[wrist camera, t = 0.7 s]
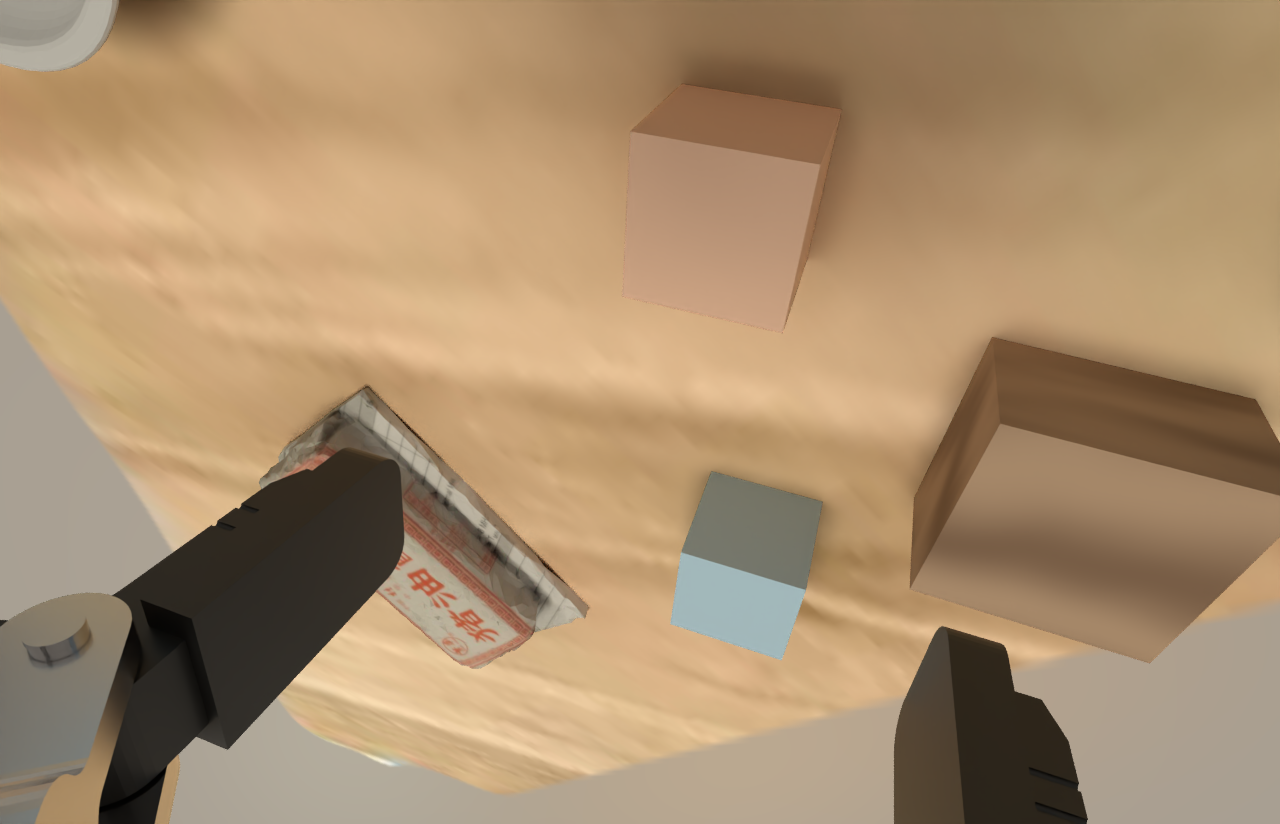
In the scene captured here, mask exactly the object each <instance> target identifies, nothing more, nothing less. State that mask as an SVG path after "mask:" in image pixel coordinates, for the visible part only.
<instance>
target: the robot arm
mask: <svg viewBox="0 0 1280 824" xmlns="http://www.w3.org/2000/svg"><path fill="white" fill-rule="evenodd" d="M403 547H404V520H403V504H402V488H401V473H400V468H399V465H398V464H397V462H396V461H394V460H392V459H389V458H386V457H382V456H379V455H376V454H372V453H369V452H366V451H362V450H359V449H355V448H352V447H347V448H343V449H341V450H339V451H338V452H336V453H335V454H334V455H332V456H331V457H330V458H328V459H327V460H326V461H324V462H323V463H322V464H320V465H319V466H318V467H316V468H315V469H314V470H309V469H305V470H302V471H300V472H297V473H295V474H292V475H289V476H287V477H284V478H282V479H279V480H277V481H274V482H272V483H270V484H268V485H267V486H265V487H264V488H263V489H261V490H260V491H258V492H257V493H256V494H254V495H253V496H251V497H250V498H249V499H247V500H246V501H244V502H243V503H242V504H241V507H240V508H239V509H238V508H235V509H233V510H232V511H231V512H229V513H228V514H226V515H225V516H224V517H222V518H221V519H219V520H218V521H217V525H216V526H212V525H211V526H210V527H208V528H207V529H205V530H204V531H203V532H201V533H200V534H198V535H197V536H196V537H194V538H193V539H191V540H190V541H189V542H187V543H186V544H184V545H183V546H182V547H180V548H179V549H177V550H176V551H175V552H173V553H172V554H170V555H169V556H168V557H166V558H165V559H163V560H162V561H161V562H159V563H158V564H156V565H155V566H154V567H152V568H151V569H149V570H148V571H147V572H146V573H144V574H142V575H141V576H140V577H138V578H137V579H135V580H134V581H133V582H131V583H130V584H128V585H127V586H126V587H124V588H123V589H121V590H120V591H118V592H117V593H115V594H114V595H112V596H111V595H108V594H102V593H80V594H72V595H67V596H62V597H59V598H55V599H51V600H49V601H46V602H43V603H40V604H38V605H35V606H33V607H31V608H29V609H27V610H25V611H23V612H21V613H19V614H18V615H16V616H14V617H13V618H11V619H10V620H0V824H169V821H170V815H171V811H172V806H173V800H174V796H175V791H176V786H177V781H178V776H179V770H180V760H179V755H178V754H179V753H180V752H181V751H182V750H183V749H184V748H185V747H186V746H187V745H188V744H189V743H190V742H191V741H192V740H193V739H194V738H195V737H198V738H201V739H203V740H206V741H208V742H210V743H213V744H215V745H217V746H220V747H222V748H225V749H229V748H230V747H231V746H232V745H233V744H234V742H235V741H236V740H237V739H238V738H239V737H240V736H241V735H242V734H243V733H244V732H245V731H246V730H247V729H248V727H249V726H250V725H251V724H252V723H253V722H254V721H255V720H256V719H257V718H258V717H259V716H260V715H261V714H262V713H263V711H264V710H265V709H266V708H267V707H268V706H269V705H270V704H271V703H272V702H273V700H275V699H276V698H277V696H278V695H279V694H280V693H281V692H282V691H283V690H284V689H285V688H286V687H287V686H288V685H289V684H290V683H291V681H292V680H293V679H294V678H295V677H296V676H297V675H298V674H299V673H300V672H301V671H302V670H303V669H304V668H305V667H306V665H307V664H308V663H309V662H310V661H311V660H312V659H313V658H314V657H315V656H316V655H317V654H318V653H319V652H320V650H321V649H322V648H323V647H324V646H325V645H326V644H327V643H328V642H329V641H330V640H331V639H332V638H333V637H334V636H335V634H336V633H337V632H338V631H339V630H340V629H341V628H342V627H343V626H344V625H345V624H346V623H347V622H348V621H349V619H350V618H351V617H352V616H353V615H354V614H355V613H356V612H357V611H358V610H359V609H360V608H361V607H362V606H363V604H364V603H365V602H366V601H367V600H368V599H369V598H370V597H371V596H372V595H373V594H374V593H375V592H376V591H377V590H378V588H379V587H380V586H381V585H382V584H383V583H384V582H385V581H386V580H387V579H388V578H389V576H390V575H391V574H392V572H393V571H394V569H395V568H396V566H397V564H398V562H399V560H400V557H401V554H402V551H403ZM1078 784H1079V782H1078V778H1077V774H1076V770H1075V766H1074V762H1073V758H1072V754H1071V749H1070V745H1069V742H1068V740H1067V738H1066V737H1065V735H1064V733H1063V732H1062V731H1061V729H1060V727H1059V726H1058V724H1057V723H1056V721H1055V720H1054V718H1053V717H1052V715H1051V714H1050V712H1049V711H1048V709H1047V707H1046V706H1045V704H1044V703H1043V701H1042V700H1041V699H1038V698H1034V697H1031V696H1028V695H1025V694H1022V693H1018V692H1015V691H1014V685H1013V680H1012V675H1011V669H1010V664H1009V658H1008V654H1007V650H1006V648H1005V647H1004V645H1002V644H1000V643H997V642H994V641H990V640H987V639H984V638H980V637H977V636H974V635H970V634H967V633H964V632H960V631H957V630H954V629H950V628H947V627H944V626H941V627H940V628H939V629H938V630H937V631H936V633H935V635H934V637H933V639H932V641H931V643H930V645H929V647H928V650H927V652H926V654H925V656H924V658H923V661H922V663H921V665H920V667H919V669H918V671H917V674H916V676H915V678H914V680H913V682H912V685H911V687H910V689H909V691H908V693H907V696H906V698H905V700H904V702H903V705H902V708H901V712H900V715H899V719H898V724H897V728H896V735H895V744H894V824H1087V820H1088V818H1087V814H1086V810H1085V806H1084V802H1083V798H1082V794H1081V792H1079V791H1078Z"/></svg>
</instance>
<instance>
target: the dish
mask: <svg viewBox="0 0 1280 824" xmlns="http://www.w3.org/2000/svg"><path fill="white" fill-rule="evenodd" d="M118 6H119V0H0V64H3V65H6V66H10V67H15V68H19V69H24V70H32V71H44V72H47V71H61V70H65V69H69V68H73V67H76V66H77V65H79V64H81V63H83V62H85V61H87V60H88V59H89V58H91V57H92V56H93V55H94V54H95V53H96V52H97V51H99V50H100V48H101V47H102V45H103V44H104V43H105V41H106V40H107V38H108V36H109V34H110V32H111V30H112V27H113V25H114V23H115V18H116V14H117V10H118Z"/></svg>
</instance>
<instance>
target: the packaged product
mask: <svg viewBox="0 0 1280 824" xmlns="http://www.w3.org/2000/svg"><path fill="white" fill-rule="evenodd" d="M347 447H352V448H355V449H359V450H362V451H366V452H369V453H372V454H376V455H379V456H382V457H386V458H389V459H392V460H394V461H396V462H397V464H398V465H399V468H400V473H401V488H402V504H403V520H404V547H403V551H402V554H401V557H400V560H399V562H398V564H397V566H396V568H395V569H394V571H393V572H392V574H391V575H390V576H389V578H388V579H387V580H386V581H385V582H384V583H383V584H382V585H381V586H380V587H379V588H378V590H377V591H376V592H377V593H378V594H379V595H381V596H382V597H383V598H384V599H385V600H387V601H388V602H389V603H390V604H391V605H392V606H393V607H394V608H395V609H396V610H398V611H399V612H400V613H401V614H402V615H403V616H405V617H406V618H407V619H408V620H409V621H410V622H411V623H412V624H413V625H415V626H416V627H417V628H419V629H420V630H421V631H422V632H423V633H424V634H425V635H426V636H427V637H428V638H429V639H431V640H432V641H433V642H435V643H436V644H437V645H438V646H439V647H440V648H441V649H442V650H443V651H444V652H445V653H447V654H448V655H449V656H450V657H451V658H452V659H453V660H455V661H456V662H458V663H459V664H461V665H464V666H469V667H470V668H473V669H478V668H482V667H484V666H486V665H488V664H489V663H490V662H491V661H493V660H494V659H496V658H498V657H501V656H503V655H504V654H505V653H507V652H510V651H511V650H513V651H514V650H516V649H517V648H518V647H520V646H521V645H522V644H523V643H524V642H526V641H527V640H529V639H530V638H531V636H532V635H533V633H534V632H537V631H541V630H544V629H549V628H552V627H556V626H560V625H563V624H567V623H571V622H572V621H573V620H575V619H576V618H584V619H585V617H586V614H587V610H588V606H587V605H586V604H585V603H584V602H583V601H582V600H581V599H580V598H579V597H578V595H577V594H576V593H575V592H574V591H573V590H572V589H571V588H570V587H569V586H567V585H566V584H565V583H564V582H563V581H561V580H560V579H559V578H558V577H556V576H555V575H554V574H553V573H552V572H550V571H549V570H548V569H547V568H546V567H544V565H543V564H542V563H541V561H540V560H539V558H538V557H537V556H536V554H535V553H534V552H532V551H531V550H530V548H529V547H528V546H527V545H526V544H525V543H524V542H523V541H522V540H521V539H520V538H519V537H518V536H517V535H516V534H515V533H514V532H513V531H512V530H511V529H510V528H509V527H508V526H507V525H506V524H505V523H504V522H503V521H502V520H501V519H500V517H499V516H498V515H497V514H496V513H495V512H493V511H492V510H491V509H490V508H489V506H488V505H487V504H486V503H485V502H484V501H483V500H482V499H481V498H480V497H479V495H478V494H477V493H476V492H475V491H474V490H473V489H472V488H471V487H470V486H469V485H468V484H467V483H466V482H464V481H463V479H462V478H461V477H460V476H459V475H458V474H457V473H455V472H454V471H453V470H452V469H451V468H450V467H449V466H447V465H446V464H445V463H444V462H443V461H442V460H441V459H440V458H438V456H437V455H436V454H435V453H434V452H433V451H432V450H431V449H430V448H429V447H428V446H427V445H425V444H424V443H423V442H422V441H421V440H420V439H419V438H418V437H417V436H416V435H414V434H413V433H412V432H411V431H410V430H409V429H408V428H407V427H406V426H405V425H404V424H403V423H402V422H401V421H400V419H399V418H398V417H397V416H396V415H395V414H394V413H393V412H392V411H391V410H390V409H389V407H388V406H387V405H386V404H385V403H384V402H383V401H382V400H381V399H380V398H378V397H377V396H376V395H375V394H374V393H373V392H372V391H371V390H370V389H369V388H365V389H363V390H361V391H360V392H358V393H357V394H355V395H354V396H352V397H351V398H350V399H348V400H347V401H345V402H344V403H342V404H341V405H339V406H338V407H336V408H335V409H333V410H332V411H331V412H329V413H328V414H327V415H326V416H325V417H323V418H322V419H321V420H320V421H319V422H317V423H316V424H315V425H314V426H313V427H312V428H310V429H309V430H308V431H307V432H306V433H304V434H303V435H301V436H300V437H298V438H297V439H295V440H294V441H292V442H291V443H289V444H288V445H286V446H285V447H284V448H283V450H282V452H281V453H280V455H279V463H277V464H276V465H275V466H273V467H271V468H270V470H269V471H268V473H267V474H266V475H264V476H263V477H262V478H261V479H260V481H259V484H260V486H261V489H263V488H264V487H265V486H267V485H268V484H270V483H272V482H274V481H277V480H279V479H282V478H284V477H287V476H289V475H292V474H295V473H297V472H300V471H302V470H305V469H309V470H314V469H315V468H316V467H318V466H319V465H320V464H322V463H323V462H324V461H326V460H327V459H328V458H330V457H331V456H332V455H334V454H335V453H336V452H338V451H339V450H341V449H343V448H347Z"/></svg>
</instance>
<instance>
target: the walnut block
mask: <svg viewBox="0 0 1280 824" xmlns="http://www.w3.org/2000/svg"><path fill="white" fill-rule="evenodd" d="M1279 537H1280V443H1279V441H1278V439H1277V437H1276V435H1275V434H1274V432H1273V430H1272V428H1271V426H1270V425H1269V423H1268V421H1267V419H1266V417H1265V415H1264V414H1263V412H1262V410H1261V408H1260V406H1259V404H1258V403H1257V401H1256V400H1255V399H1251V398H1247V397H1243V396H1238V395H1234V394H1230V393H1226V392H1222V391H1217V390H1213V389H1209V388H1205V387H1200V386H1196V385H1192V384H1188V383H1183V382H1179V381H1175V380H1171V379H1167V378H1162V377H1158V376H1154V375H1150V374H1145V373H1141V372H1137V371H1133V370H1128V369H1124V368H1120V367H1116V366H1112V365H1107V364H1103V363H1099V362H1095V361H1090V360H1086V359H1082V358H1078V357H1073V356H1069V355H1065V354H1061V353H1057V352H1052V351H1048V350H1044V349H1040V348H1035V347H1031V346H1027V345H1023V344H1018V343H1014V342H1010V341H1006V340H1002V339H997V338H993V337H992V339H991V341H990V343H989V345H988V347H987V349H986V351H985V354H984V356H983V358H982V360H981V362H980V364H979V366H978V368H977V370H976V372H975V374H974V376H973V378H972V380H971V382H970V384H969V386H968V388H967V391H966V393H965V395H964V397H963V399H962V401H961V403H960V405H959V407H958V409H957V411H956V413H955V415H954V417H953V419H952V421H951V423H950V425H949V427H948V430H947V432H946V434H945V436H944V438H943V440H942V442H941V444H940V446H939V448H938V450H937V452H936V454H935V456H934V458H933V460H932V462H931V464H930V467H929V469H928V471H927V473H926V475H925V477H924V479H923V481H922V483H921V485H920V487H919V489H918V491H917V493H916V495H915V497H914V511H913V531H912V552H911V572H910V590H913V591H917V592H920V593H923V594H926V595H930V596H933V597H936V598H939V599H943V600H946V601H949V602H952V603H956V604H959V605H962V606H965V607H969V608H972V609H975V610H978V611H982V612H985V613H988V614H991V615H995V616H998V617H1001V618H1004V619H1008V620H1011V621H1014V622H1017V623H1021V624H1024V625H1027V626H1030V627H1033V628H1037V629H1040V630H1043V631H1046V632H1050V633H1053V634H1056V635H1059V636H1063V637H1066V638H1069V639H1072V640H1076V641H1079V642H1082V643H1085V644H1089V645H1092V646H1095V647H1098V648H1102V649H1105V650H1108V651H1111V652H1115V653H1118V654H1121V655H1124V656H1128V657H1131V658H1134V659H1137V660H1141V661H1144V662H1147V663H1151V662H1152V661H1153V660H1154V659H1155V658H1156V657H1157V656H1158V655H1159V654H1160V653H1161V652H1162V651H1163V650H1164V649H1165V648H1166V647H1167V646H1168V645H1169V644H1170V643H1171V642H1172V641H1173V640H1174V639H1175V638H1176V637H1177V636H1178V635H1179V634H1180V633H1181V632H1182V631H1184V630H1185V629H1186V628H1187V627H1188V626H1189V625H1190V624H1191V623H1192V622H1193V621H1194V620H1195V619H1196V618H1197V617H1198V616H1199V615H1200V614H1201V613H1202V612H1203V611H1204V610H1205V609H1206V608H1207V607H1208V606H1209V605H1210V604H1211V603H1212V602H1213V601H1214V600H1215V599H1216V598H1217V597H1219V596H1220V595H1221V594H1222V593H1223V592H1224V591H1225V590H1226V589H1227V588H1228V587H1229V586H1230V585H1231V584H1232V583H1233V582H1234V581H1235V580H1236V579H1237V578H1238V577H1239V576H1240V575H1241V574H1242V573H1243V572H1244V571H1245V570H1246V569H1247V568H1248V567H1249V566H1250V565H1251V564H1253V563H1254V562H1255V561H1256V560H1257V559H1258V558H1259V557H1260V556H1261V555H1262V554H1263V553H1264V552H1265V551H1266V550H1267V549H1268V548H1269V547H1270V546H1271V545H1272V544H1273V543H1274V542H1275V541H1276V540H1277V539H1278V538H1279Z"/></svg>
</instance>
